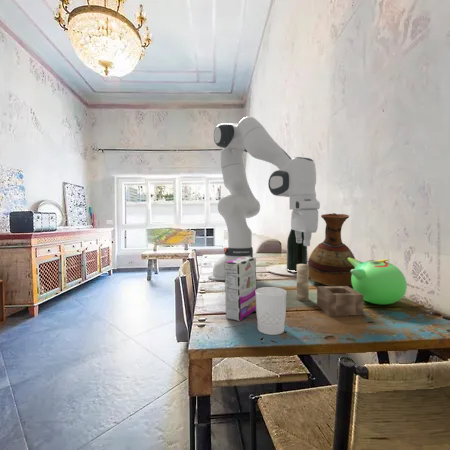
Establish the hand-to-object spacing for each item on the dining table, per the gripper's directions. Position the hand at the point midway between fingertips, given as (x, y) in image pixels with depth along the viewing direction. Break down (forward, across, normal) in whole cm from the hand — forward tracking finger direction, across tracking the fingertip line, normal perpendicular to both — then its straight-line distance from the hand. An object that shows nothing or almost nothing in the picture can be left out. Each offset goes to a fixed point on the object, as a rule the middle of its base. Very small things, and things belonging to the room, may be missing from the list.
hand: (302, 244), depth 94 cm
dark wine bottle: (+19, -47, +10) cm, 52 cm away
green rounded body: (+19, +4, +23) cm, 30 cm away
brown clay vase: (+19, -21, +18) cm, 34 cm away
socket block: (+19, +11, +8) cm, 23 cm away
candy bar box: (+19, +14, -22) cm, 33 cm away
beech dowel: (+19, 0, 0) cm, 19 cm away
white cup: (+19, +25, -15) cm, 35 cm away
